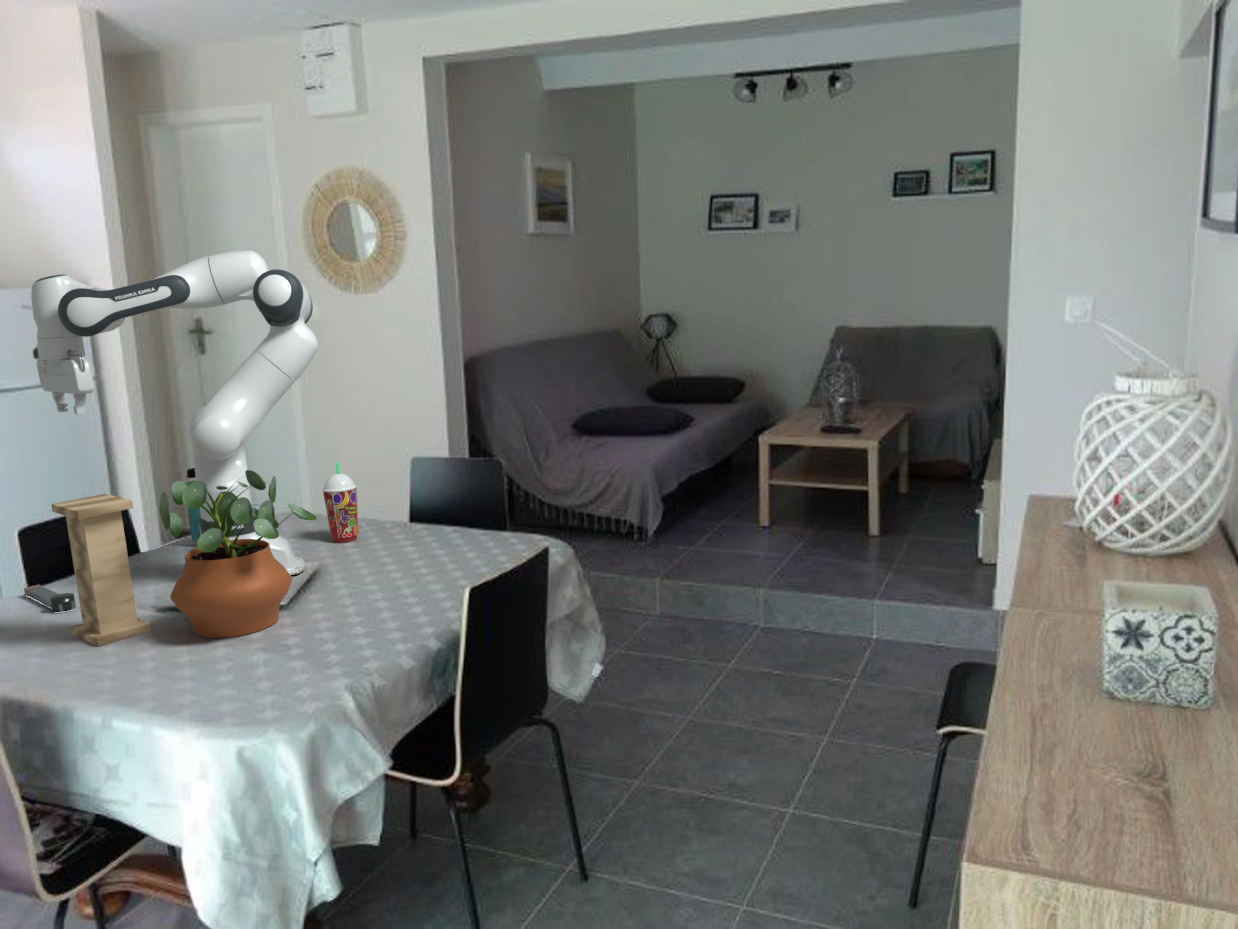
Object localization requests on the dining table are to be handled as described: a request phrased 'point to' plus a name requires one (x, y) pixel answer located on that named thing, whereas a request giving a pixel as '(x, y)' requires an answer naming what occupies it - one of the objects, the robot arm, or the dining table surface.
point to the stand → (101, 568)
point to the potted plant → (229, 561)
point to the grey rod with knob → (51, 598)
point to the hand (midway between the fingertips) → (71, 412)
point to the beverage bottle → (193, 512)
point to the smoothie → (341, 507)
